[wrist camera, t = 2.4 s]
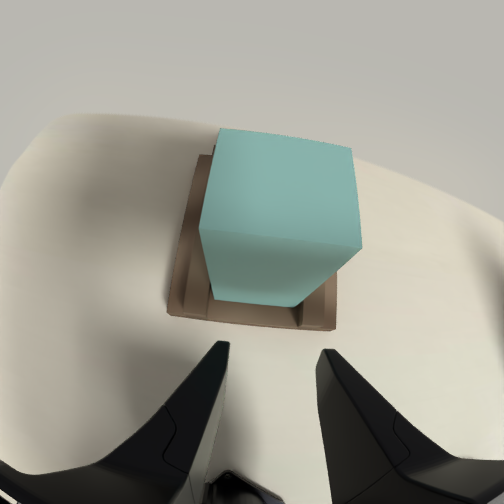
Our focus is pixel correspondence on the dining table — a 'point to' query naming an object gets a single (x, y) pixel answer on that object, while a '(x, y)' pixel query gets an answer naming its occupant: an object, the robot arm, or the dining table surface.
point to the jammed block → (277, 217)
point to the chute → (207, 308)
